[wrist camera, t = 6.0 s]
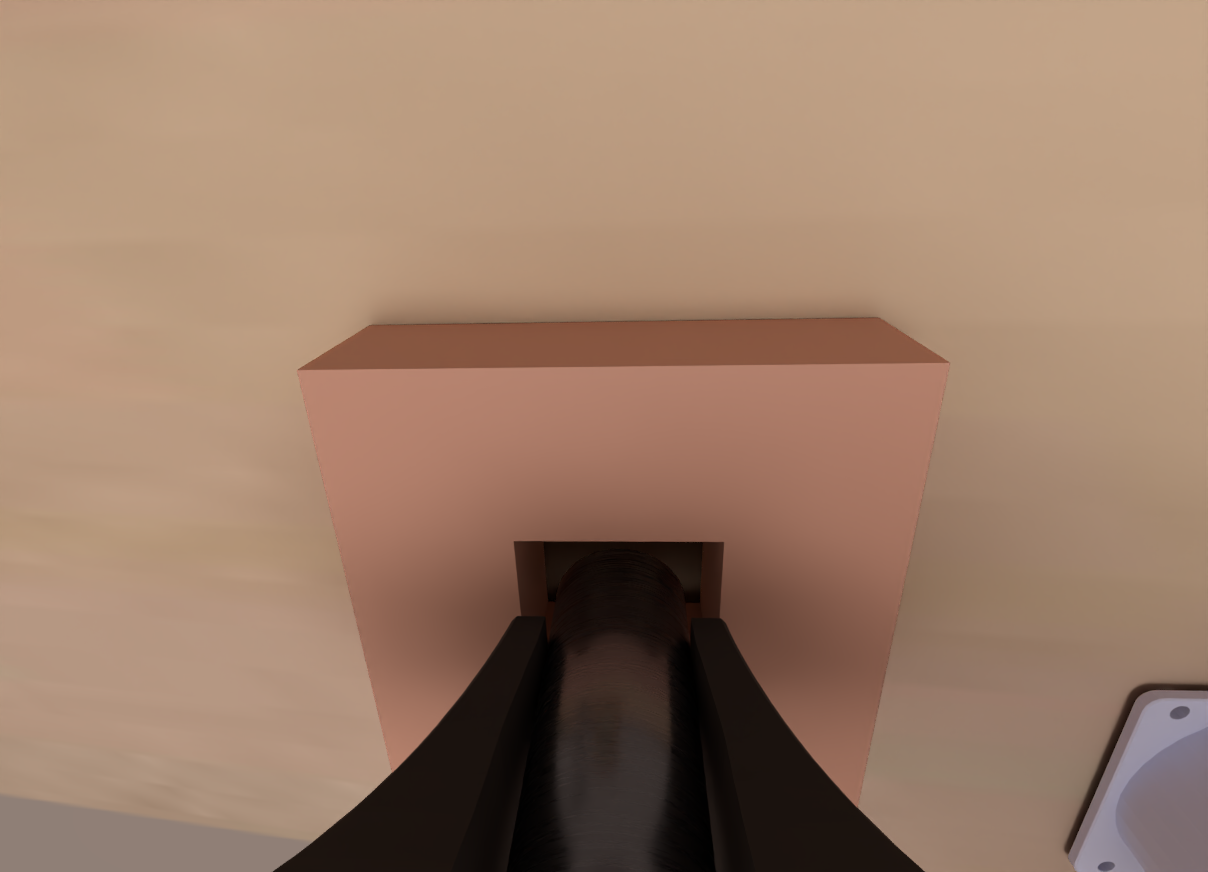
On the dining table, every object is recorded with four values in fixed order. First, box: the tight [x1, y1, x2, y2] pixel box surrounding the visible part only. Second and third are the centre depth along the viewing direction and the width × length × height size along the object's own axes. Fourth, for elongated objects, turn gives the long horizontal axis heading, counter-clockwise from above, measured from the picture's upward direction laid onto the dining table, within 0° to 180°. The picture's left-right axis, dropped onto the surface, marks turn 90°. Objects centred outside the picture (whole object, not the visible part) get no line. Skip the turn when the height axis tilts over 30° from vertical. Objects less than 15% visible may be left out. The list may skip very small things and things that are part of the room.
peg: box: [506, 549, 716, 872], centre depth 11 cm, size 3×3×7 cm
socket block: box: [297, 318, 950, 808], centre depth 15 cm, size 12×12×4 cm
